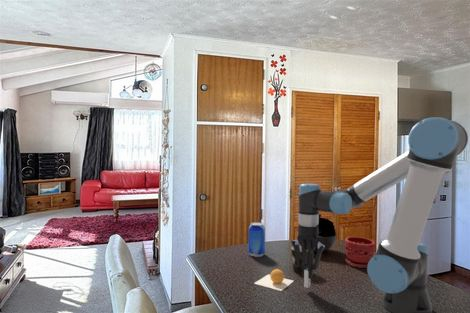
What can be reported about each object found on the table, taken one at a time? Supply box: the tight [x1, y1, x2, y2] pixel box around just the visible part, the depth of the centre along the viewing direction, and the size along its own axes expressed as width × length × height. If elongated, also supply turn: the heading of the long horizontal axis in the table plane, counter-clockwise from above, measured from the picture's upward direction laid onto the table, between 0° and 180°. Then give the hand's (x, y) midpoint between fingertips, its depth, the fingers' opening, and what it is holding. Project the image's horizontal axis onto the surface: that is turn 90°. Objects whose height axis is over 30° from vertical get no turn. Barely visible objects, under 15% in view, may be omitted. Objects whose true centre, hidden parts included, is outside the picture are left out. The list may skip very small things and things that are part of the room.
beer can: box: [248, 221, 266, 258], centre depth 169 cm, size 8×8×16 cm
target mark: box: [253, 273, 295, 292], centre depth 133 cm, size 12×12×1 cm
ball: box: [269, 268, 285, 284], centre depth 132 cm, size 6×6×6 cm
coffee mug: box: [290, 245, 308, 275], centre depth 148 cm, size 12×9×10 cm
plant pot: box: [344, 236, 376, 269], centre depth 156 cm, size 13×13×12 cm
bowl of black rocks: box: [314, 213, 338, 253], centre depth 177 cm, size 20×20×19 cm
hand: (307, 286), depth 125 cm, fingers closed
